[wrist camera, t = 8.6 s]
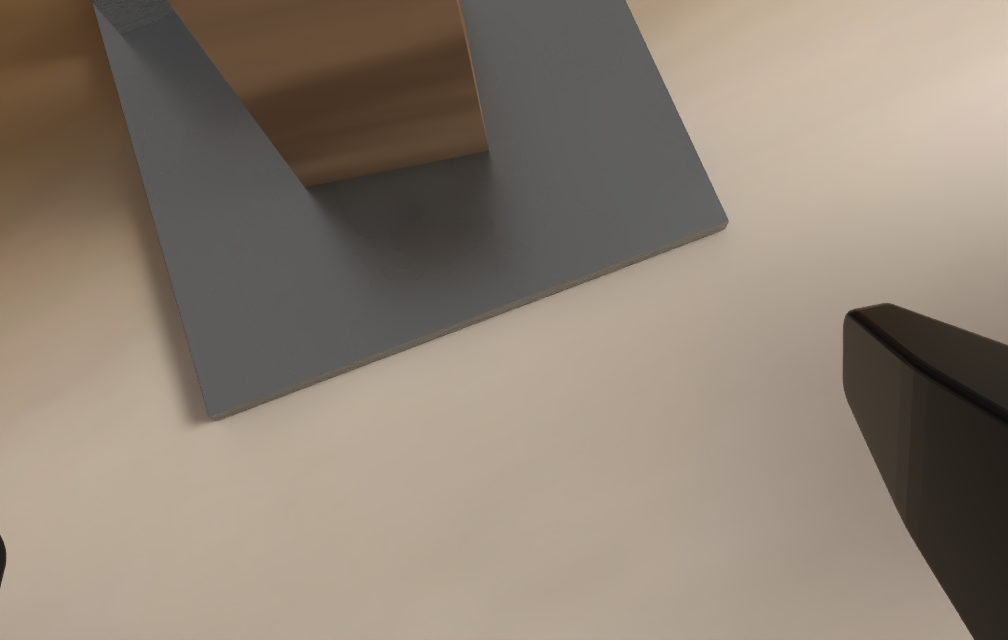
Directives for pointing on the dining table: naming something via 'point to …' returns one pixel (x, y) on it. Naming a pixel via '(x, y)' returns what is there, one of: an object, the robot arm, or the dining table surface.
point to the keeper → (403, 196)
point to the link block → (347, 79)
